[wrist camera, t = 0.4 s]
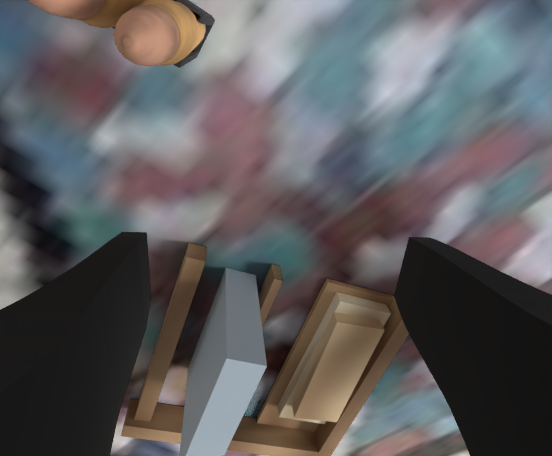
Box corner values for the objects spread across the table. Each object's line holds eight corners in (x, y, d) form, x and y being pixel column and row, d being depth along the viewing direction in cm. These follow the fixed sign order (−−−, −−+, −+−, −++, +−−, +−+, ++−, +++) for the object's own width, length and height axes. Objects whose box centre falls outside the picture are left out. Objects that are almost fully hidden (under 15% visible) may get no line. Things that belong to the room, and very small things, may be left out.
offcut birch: (385, 304, 25) (391, 313, 24) (321, 412, 29) (324, 424, 28) (336, 292, 24) (340, 301, 24) (277, 405, 28) (278, 417, 27)
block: (255, 274, 24) (266, 366, 18) (215, 372, 27) (212, 479, 21) (225, 267, 23) (226, 358, 17) (188, 367, 26) (177, 475, 20)
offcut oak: (379, 319, 24) (384, 330, 24) (333, 410, 28) (336, 422, 27) (333, 311, 24) (337, 322, 23) (291, 405, 27) (294, 417, 26)
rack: (405, 298, 26) (418, 319, 24) (320, 437, 31) (326, 462, 29) (179, 240, 22) (175, 259, 20) (127, 408, 27) (121, 435, 26)
